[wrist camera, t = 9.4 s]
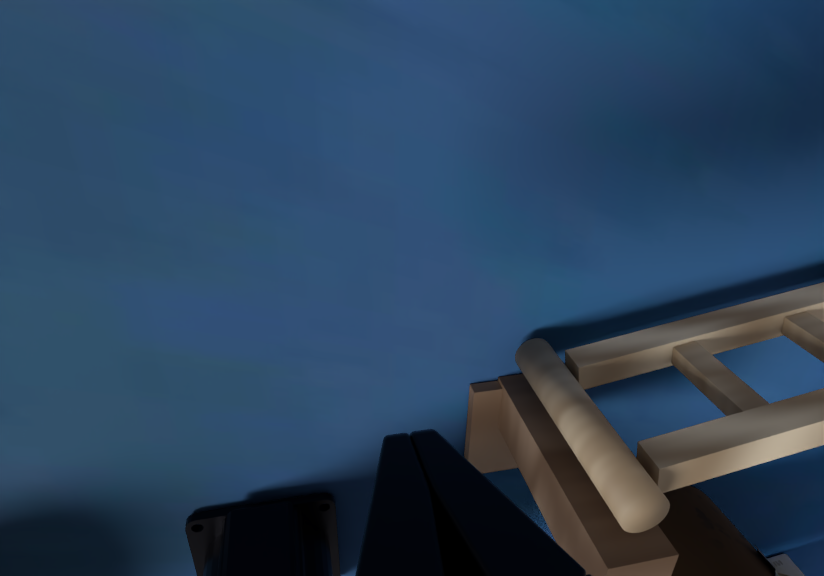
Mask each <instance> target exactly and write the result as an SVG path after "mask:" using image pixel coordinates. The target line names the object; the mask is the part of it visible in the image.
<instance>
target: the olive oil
mask: <svg viewBox="0 0 824 576" xmlns="http://www.w3.org/2000/svg"><path fill="white" fill-rule="evenodd" d="M663 494H664V495H665V496H666V498H667V499H668V500H669V503H670V508H669V511H668V513H667V515H666V517H665V518H664V519H663V520H662V521H661V522H660V523H659V524H658V526H659V527H660V529H661V530H662V531H663V533H664V534H665V536H666V537H667V538H668V540H669V541H670V543H671V544H672V546H673V547H674V548H675V550H676V551H677V553H678V554H679V556H678V559H677V561H676V564H675V567H674V570H673V572H672V575H671V576H779V575H778V574H777V571H776V569H775V567H774V566H773V565H772V564H771V563H770V562H769V561H768V560H767V558H766V557H765V556H764V555H763V554H762V553H761V551H760V550H759V549H758V548H757V549H758V550H757V551H756V550H755V549H754V547H753V546H752V545H751V544H750V543H749V542H748V541H747V540H746V538H745V537H744V536H743V535H742V534H741V533H740V532H739V531H738V530H737V528H736V527H735V526H734V525H733V524H732V523H731V522H730V521H729V519H728V518H727V517H726V516H725V515H724V514H723V513H722V512H721V510H720V509H719V508H718V507H717V506H716V505H715V504H714V503H713V502H712V501H711V499H710V498H709V497H708V496H707V495H706V494H704V493H703V492H702V491H700V490H699V489H697V488H695V487H692V486H685V487H682V488H678V489H675V490H672V491H668V492H665V493H663Z"/></svg>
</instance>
